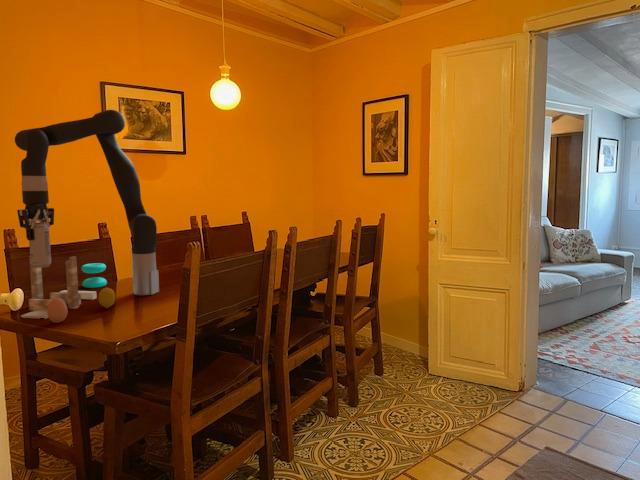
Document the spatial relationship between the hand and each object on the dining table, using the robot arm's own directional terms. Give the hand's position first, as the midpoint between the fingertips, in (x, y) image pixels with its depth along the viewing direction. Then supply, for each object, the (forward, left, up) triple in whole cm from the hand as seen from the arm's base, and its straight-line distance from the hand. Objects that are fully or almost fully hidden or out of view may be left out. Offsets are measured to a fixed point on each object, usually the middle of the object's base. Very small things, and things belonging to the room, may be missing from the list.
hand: (38, 238), depth 154 cm
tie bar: (+4, -24, -27) cm, 36 cm away
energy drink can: (0, 0, -10) cm, 10 cm away
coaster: (0, 0, -26) cm, 26 cm away
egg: (-12, +8, -27) cm, 30 cm away
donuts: (+12, -46, -27) cm, 54 cm away
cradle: (+3, -10, -26) cm, 28 cm away
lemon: (-17, -11, -27) cm, 33 cm away
